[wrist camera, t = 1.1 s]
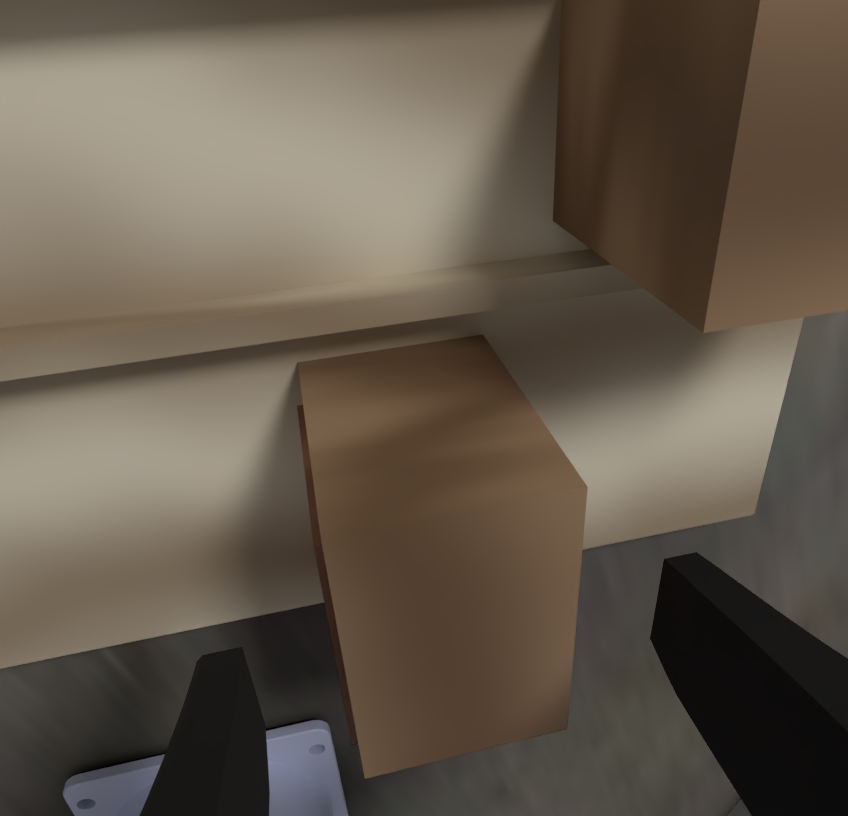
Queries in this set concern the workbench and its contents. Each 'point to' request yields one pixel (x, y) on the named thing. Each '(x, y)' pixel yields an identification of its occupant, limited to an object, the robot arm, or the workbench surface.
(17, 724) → the workbench surface
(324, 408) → the turned block
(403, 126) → the long shallow wooden tray
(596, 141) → the faced block
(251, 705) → the robot arm
